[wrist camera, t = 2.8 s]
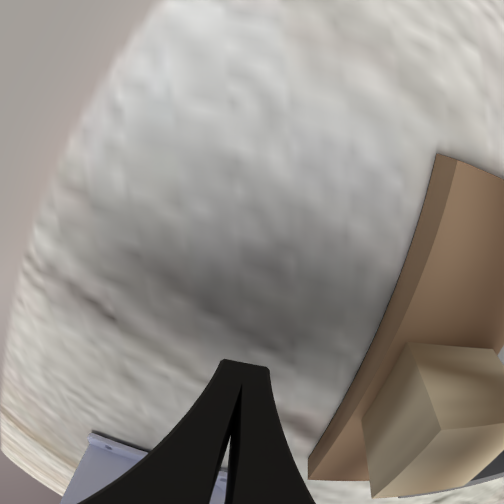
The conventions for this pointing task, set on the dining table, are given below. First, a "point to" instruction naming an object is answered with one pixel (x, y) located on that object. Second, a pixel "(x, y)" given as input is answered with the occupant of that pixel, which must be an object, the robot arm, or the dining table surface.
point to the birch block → (434, 420)
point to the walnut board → (429, 301)
